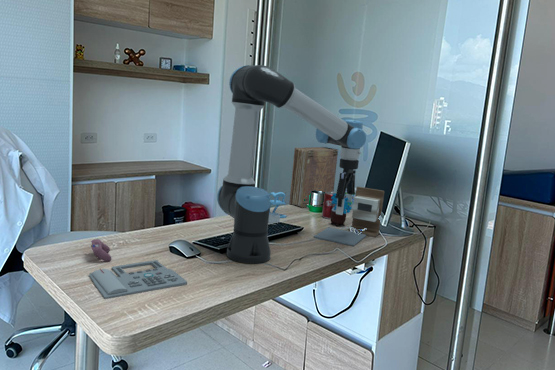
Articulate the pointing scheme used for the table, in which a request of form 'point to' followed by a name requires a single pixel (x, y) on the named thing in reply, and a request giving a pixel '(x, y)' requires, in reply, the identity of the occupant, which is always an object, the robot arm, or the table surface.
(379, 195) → the mounted unit
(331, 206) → the soda can
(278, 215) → the steel block
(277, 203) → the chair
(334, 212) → the mate gourd
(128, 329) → the table surface
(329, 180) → the book
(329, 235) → the mat
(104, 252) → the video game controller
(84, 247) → the table surface
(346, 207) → the gear
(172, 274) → the office telephone
